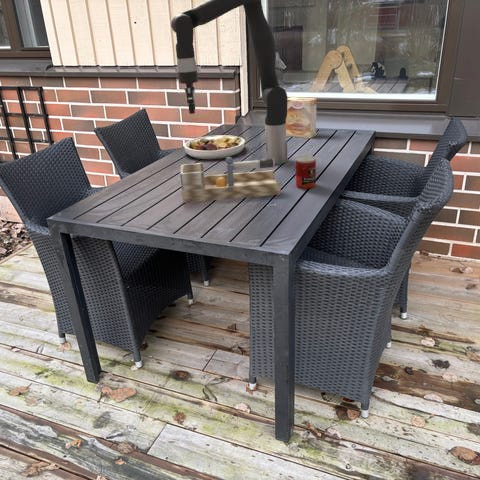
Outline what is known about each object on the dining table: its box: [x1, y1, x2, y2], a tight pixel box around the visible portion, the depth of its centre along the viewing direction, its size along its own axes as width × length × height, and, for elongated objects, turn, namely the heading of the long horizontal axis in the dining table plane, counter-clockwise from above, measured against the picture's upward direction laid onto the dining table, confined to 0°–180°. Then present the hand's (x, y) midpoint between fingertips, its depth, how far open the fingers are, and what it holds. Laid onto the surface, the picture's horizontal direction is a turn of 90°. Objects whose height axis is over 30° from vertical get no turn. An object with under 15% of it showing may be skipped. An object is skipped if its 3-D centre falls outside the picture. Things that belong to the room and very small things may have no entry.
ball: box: [216, 177, 227, 187], centre depth 184 cm, size 4×4×4 cm
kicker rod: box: [225, 156, 276, 186], centre depth 182 cm, size 18×4×11 cm, turn 95°
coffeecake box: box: [286, 96, 317, 139], centre depth 253 cm, size 15×7×20 cm, turn 55°
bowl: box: [183, 134, 246, 160], centre depth 237 cm, size 30×30×8 cm
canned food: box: [294, 155, 317, 190], centre depth 184 cm, size 8×8×11 cm
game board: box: [179, 162, 282, 204], centre depth 183 cm, size 36×16×10 cm, turn 95°
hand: (192, 111), depth 196 cm, fingers open, 8 cm apart
